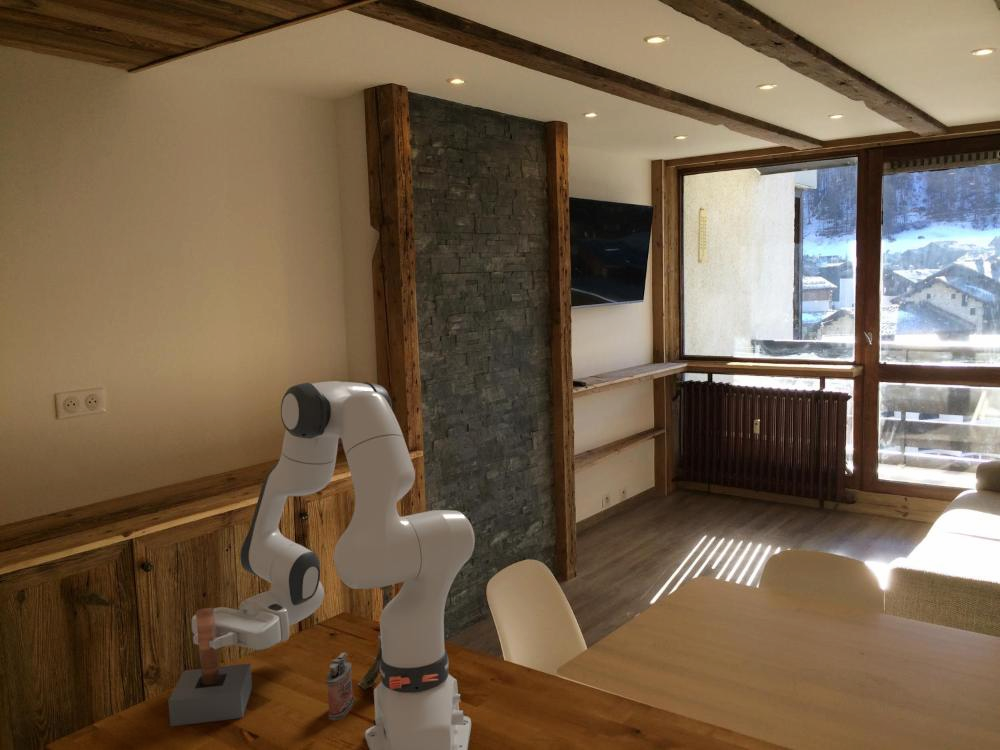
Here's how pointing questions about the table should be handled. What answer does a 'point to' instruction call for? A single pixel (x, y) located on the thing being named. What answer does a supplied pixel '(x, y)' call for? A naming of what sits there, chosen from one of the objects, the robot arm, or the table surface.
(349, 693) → the lighter
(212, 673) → the peg
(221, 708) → the holder
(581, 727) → the table surface
